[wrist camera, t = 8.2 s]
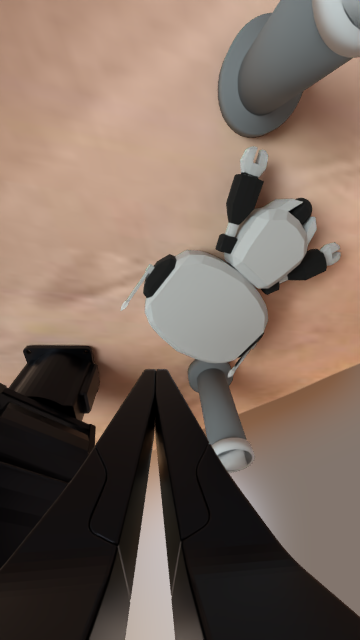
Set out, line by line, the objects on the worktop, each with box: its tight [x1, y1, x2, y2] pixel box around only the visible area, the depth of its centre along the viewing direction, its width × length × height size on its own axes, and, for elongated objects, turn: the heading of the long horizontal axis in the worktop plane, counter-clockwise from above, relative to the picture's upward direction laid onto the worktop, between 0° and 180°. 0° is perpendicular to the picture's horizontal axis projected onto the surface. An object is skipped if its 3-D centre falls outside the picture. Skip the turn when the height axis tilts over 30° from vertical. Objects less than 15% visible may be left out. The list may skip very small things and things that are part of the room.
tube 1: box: [188, 359, 255, 473], centre depth 22 cm, size 5×5×10 cm
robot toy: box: [121, 146, 341, 378], centre depth 19 cm, size 12×4×15 cm
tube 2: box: [218, 0, 360, 138], centre depth 10 cm, size 5×5×10 cm
